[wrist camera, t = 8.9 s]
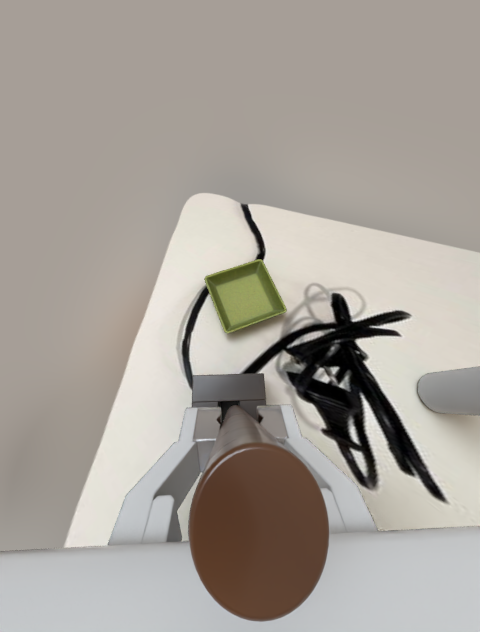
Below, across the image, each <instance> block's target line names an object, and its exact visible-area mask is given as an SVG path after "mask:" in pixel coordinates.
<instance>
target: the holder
mask: <svg viewBox="0 0 480 632" xmlns="http://www.w3.org/2000/svg"><path fill="white" fill-rule="evenodd" d="M265 399H266V398H265V383H264V374H263V373H261V374H228V375H195V376H193V389H192V408H198V407H220V401H238V405H239V406H240V407H241V408H242V409H244V410H245V411H246V412H247V413H248V414H249V415H250V416H251V417H253V418H254V419H255V420H256V419H257V413H256V411H257V406H266V400H265ZM222 423H223V421H222Z"/></svg>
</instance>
